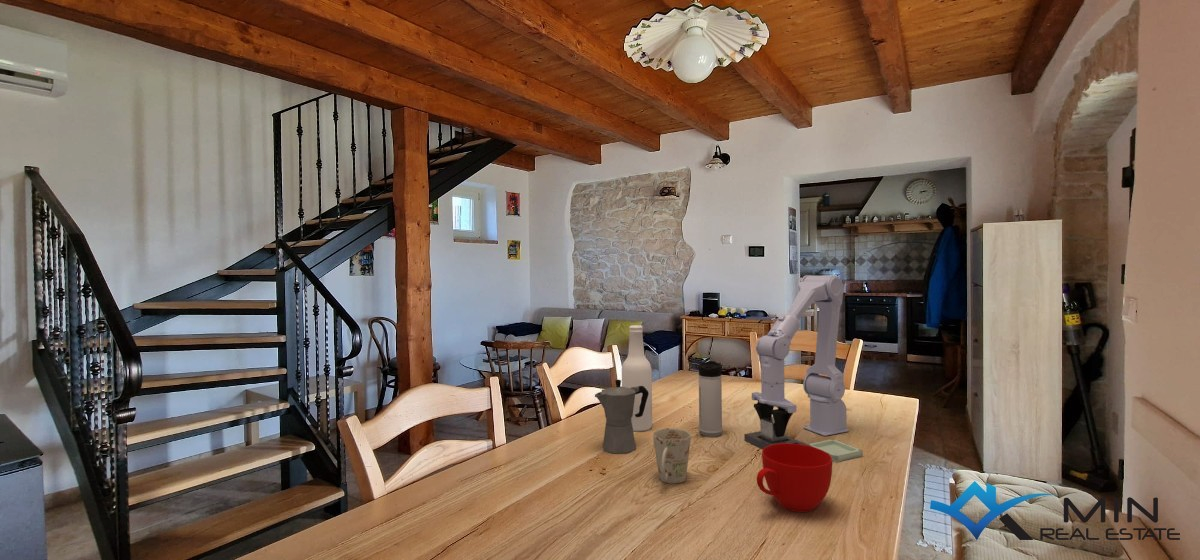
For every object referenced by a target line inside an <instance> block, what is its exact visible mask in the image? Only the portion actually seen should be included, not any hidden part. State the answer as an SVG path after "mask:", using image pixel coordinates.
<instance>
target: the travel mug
mask: <svg viewBox="0 0 1200 560" xmlns="http://www.w3.org/2000/svg"><path fill="white" fill-rule="evenodd" d="M722 389H723V388H722V364H721V363H719V362H716V361H715V360H709V361H706V362H705V361H704V362H701V363H699V364H698V423H699V424H698V426H699V427H698V428H699V430H698V431H699V432H698V433H699V434H700V435H701V436H702V437H707V438H717V437H720V436H722V435H723V408H722V406H723V405H722V404H723V400H722V399H723V398H722V397H723V396H722V395H723V394H722V391H723V390H722Z"/></svg>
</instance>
